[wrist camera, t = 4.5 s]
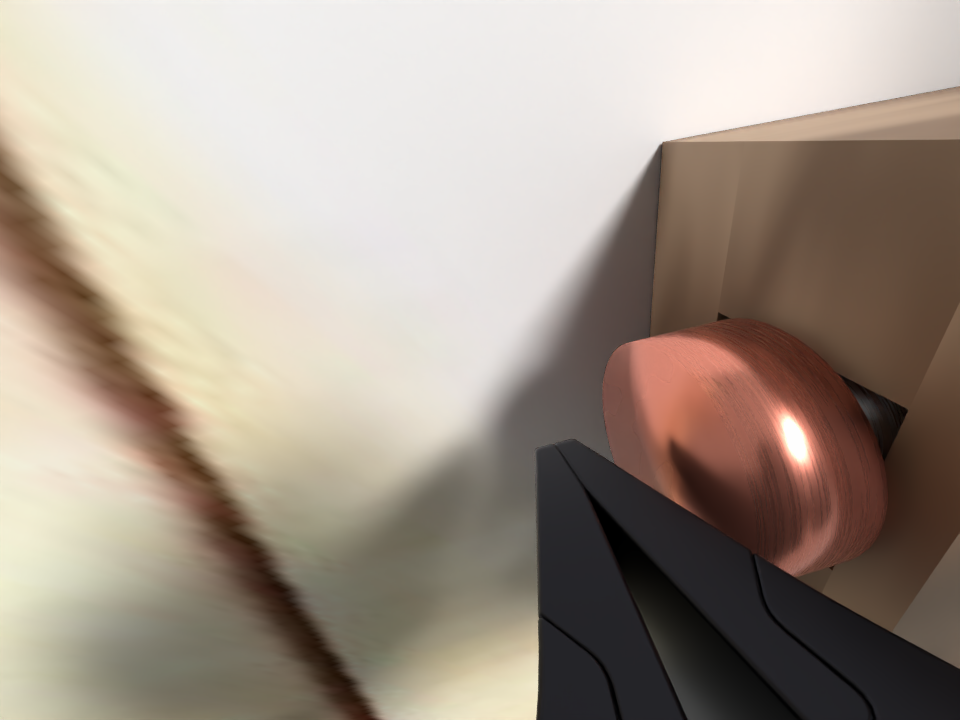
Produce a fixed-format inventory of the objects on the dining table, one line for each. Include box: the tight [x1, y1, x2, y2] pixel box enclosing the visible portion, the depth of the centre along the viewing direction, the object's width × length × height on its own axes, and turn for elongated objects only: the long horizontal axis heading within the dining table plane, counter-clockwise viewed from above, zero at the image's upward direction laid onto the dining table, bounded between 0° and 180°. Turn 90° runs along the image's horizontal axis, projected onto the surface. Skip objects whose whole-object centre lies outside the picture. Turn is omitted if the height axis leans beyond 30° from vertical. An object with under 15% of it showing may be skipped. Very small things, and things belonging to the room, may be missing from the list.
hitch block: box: [650, 86, 960, 669], centre depth 9 cm, size 10×8×7 cm
